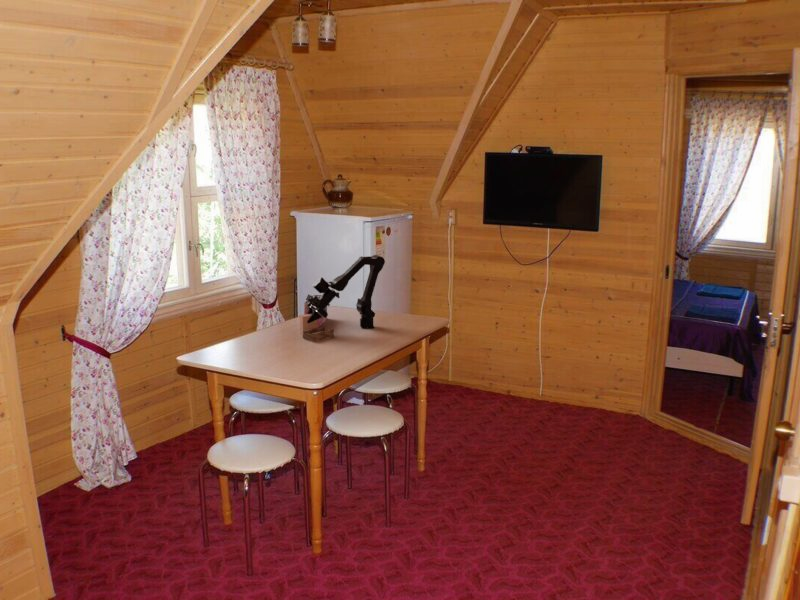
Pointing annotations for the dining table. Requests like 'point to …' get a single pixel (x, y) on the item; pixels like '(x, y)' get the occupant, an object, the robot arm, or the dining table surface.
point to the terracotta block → (305, 325)
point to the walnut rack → (318, 334)
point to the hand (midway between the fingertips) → (306, 321)
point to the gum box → (320, 320)
